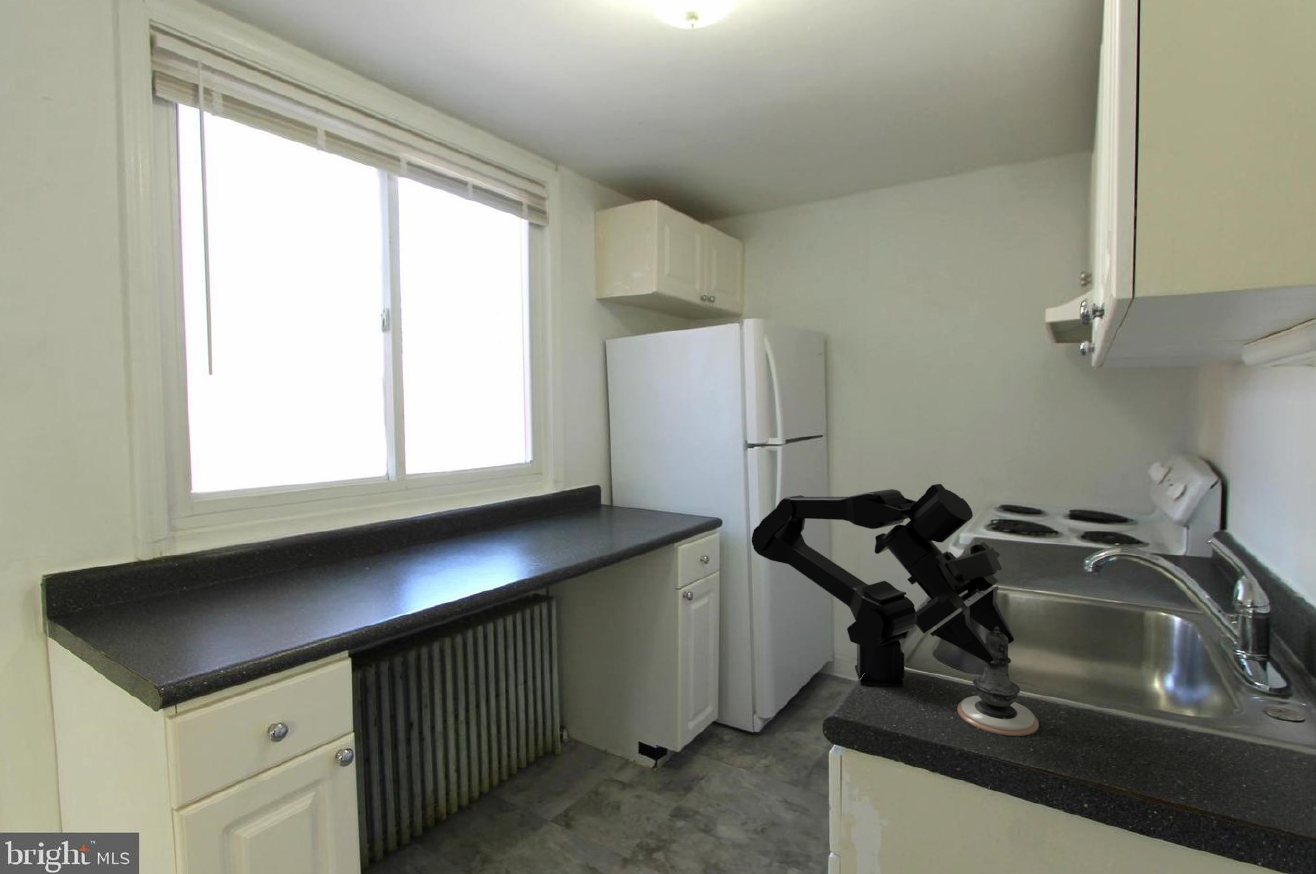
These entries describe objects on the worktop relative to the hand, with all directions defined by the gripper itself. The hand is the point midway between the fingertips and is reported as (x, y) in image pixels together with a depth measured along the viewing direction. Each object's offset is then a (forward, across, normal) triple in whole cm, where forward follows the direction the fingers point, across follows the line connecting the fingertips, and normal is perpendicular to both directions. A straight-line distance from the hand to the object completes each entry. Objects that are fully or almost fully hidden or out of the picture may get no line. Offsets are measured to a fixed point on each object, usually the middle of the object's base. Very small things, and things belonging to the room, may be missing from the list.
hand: (1002, 651), depth 87 cm
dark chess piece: (+6, 0, +7) cm, 9 cm away
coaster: (+6, 0, +7) cm, 10 cm away
